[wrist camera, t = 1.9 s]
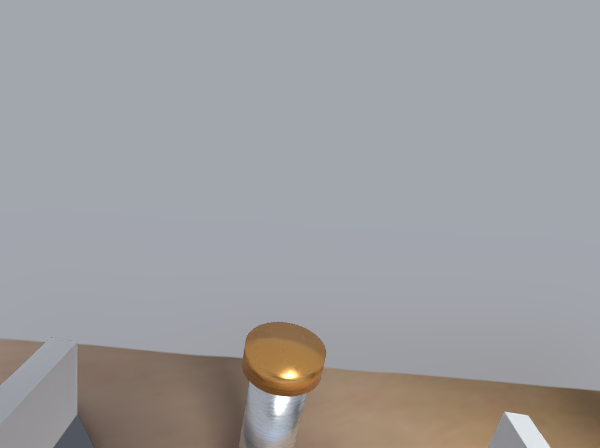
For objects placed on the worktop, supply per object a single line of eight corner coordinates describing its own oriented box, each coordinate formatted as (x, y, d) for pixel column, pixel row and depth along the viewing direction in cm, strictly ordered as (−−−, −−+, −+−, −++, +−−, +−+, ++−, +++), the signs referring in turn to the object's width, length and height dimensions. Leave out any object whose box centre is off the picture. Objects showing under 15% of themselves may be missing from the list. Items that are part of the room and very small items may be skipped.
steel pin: (303, 507, 27) (342, 354, 23) (248, 555, 24) (283, 387, 20) (261, 457, 30) (288, 314, 26) (207, 493, 27) (229, 336, 23)
